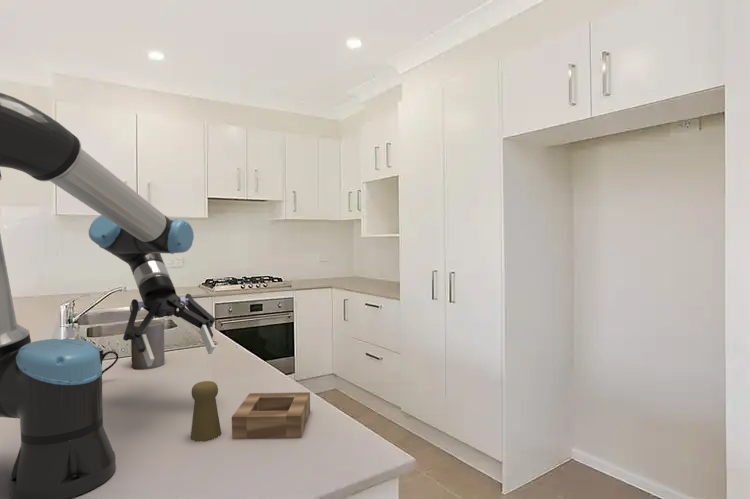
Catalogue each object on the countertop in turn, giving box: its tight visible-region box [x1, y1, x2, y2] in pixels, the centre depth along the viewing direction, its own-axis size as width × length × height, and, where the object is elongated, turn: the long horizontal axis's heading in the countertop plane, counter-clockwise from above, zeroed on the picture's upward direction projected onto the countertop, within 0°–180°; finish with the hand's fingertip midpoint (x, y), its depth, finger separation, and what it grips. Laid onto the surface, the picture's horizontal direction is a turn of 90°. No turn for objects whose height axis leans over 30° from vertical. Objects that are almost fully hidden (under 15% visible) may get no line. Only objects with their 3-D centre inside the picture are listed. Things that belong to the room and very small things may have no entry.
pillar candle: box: [130, 319, 166, 370], centre depth 150 cm, size 10×10×15 cm
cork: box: [190, 380, 222, 443], centre depth 97 cm, size 6×6×11 cm
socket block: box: [231, 391, 311, 440], centre depth 102 cm, size 14×14×4 cm
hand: (182, 356), depth 104 cm, fingers open, 13 cm apart
